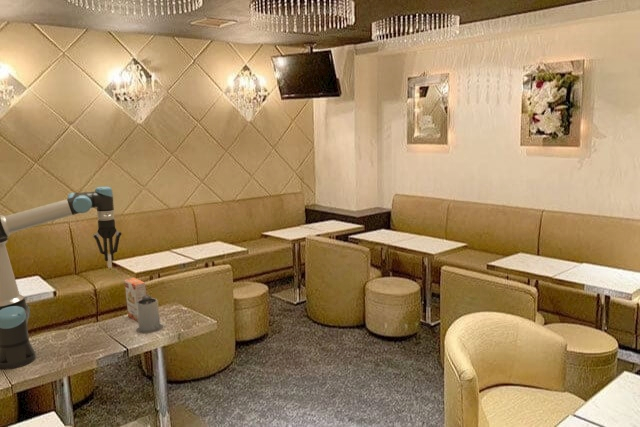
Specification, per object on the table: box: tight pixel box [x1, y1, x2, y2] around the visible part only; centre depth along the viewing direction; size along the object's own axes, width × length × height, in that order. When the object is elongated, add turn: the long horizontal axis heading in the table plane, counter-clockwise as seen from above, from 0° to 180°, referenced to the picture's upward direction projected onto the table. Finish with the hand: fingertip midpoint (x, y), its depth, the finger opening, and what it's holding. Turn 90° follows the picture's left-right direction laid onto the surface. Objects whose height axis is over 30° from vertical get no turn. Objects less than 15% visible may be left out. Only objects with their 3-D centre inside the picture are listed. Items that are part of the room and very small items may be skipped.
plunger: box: [142, 294, 152, 304], centre depth 261 cm, size 7×7×12 cm
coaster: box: [135, 323, 164, 335], centre depth 263 cm, size 13×13×1 cm
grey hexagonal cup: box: [136, 297, 161, 332], centre depth 262 cm, size 10×10×14 cm
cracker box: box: [124, 277, 147, 322], centre depth 277 cm, size 14×6×21 cm, turn 42°
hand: (109, 267), depth 256 cm, fingers closed
